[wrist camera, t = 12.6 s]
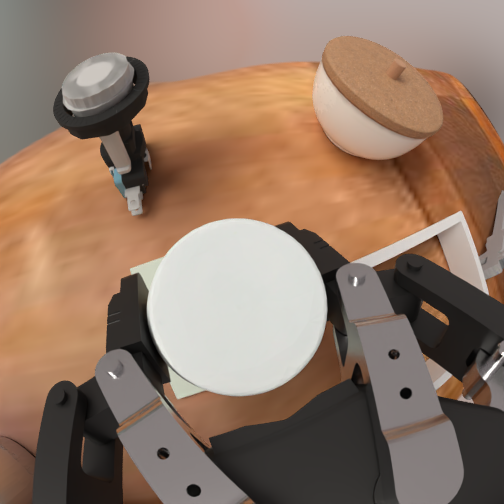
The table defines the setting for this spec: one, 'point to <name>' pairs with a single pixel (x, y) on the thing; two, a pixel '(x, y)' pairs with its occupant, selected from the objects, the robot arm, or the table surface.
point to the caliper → (495, 245)
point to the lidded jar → (373, 100)
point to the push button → (110, 117)
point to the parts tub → (458, 258)
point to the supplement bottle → (237, 307)
